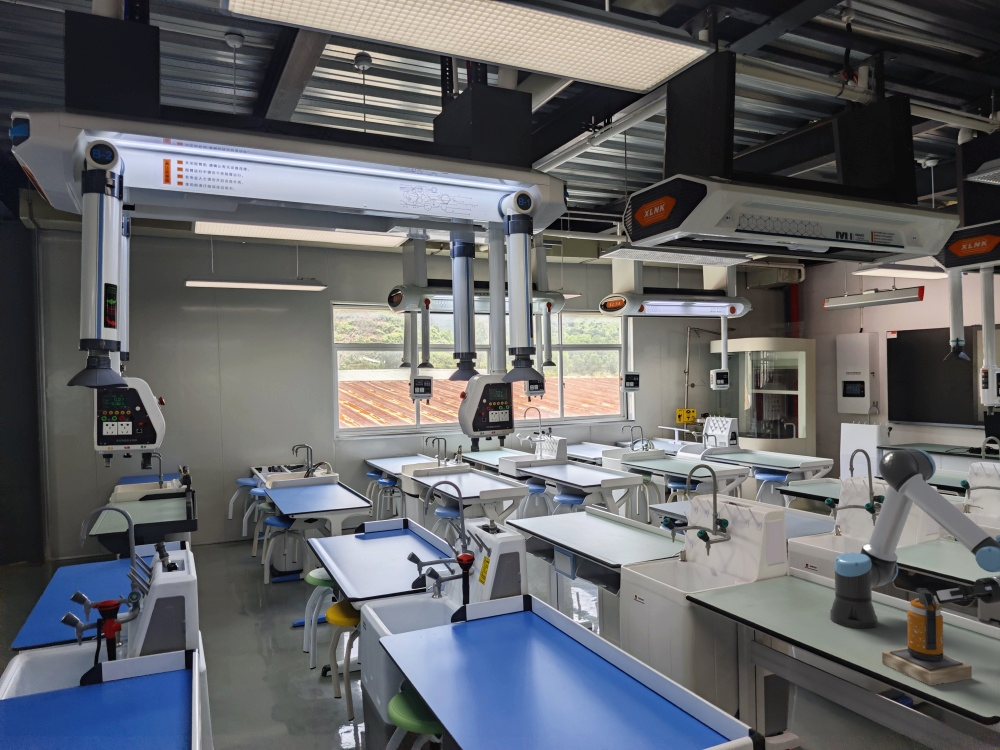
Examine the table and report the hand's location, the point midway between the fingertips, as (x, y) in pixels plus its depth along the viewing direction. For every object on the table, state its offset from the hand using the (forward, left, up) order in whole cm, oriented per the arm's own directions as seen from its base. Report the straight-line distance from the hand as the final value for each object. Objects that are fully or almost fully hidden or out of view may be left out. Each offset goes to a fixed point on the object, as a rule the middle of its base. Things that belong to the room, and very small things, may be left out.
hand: (927, 599), depth 207 cm
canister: (+6, -8, -15) cm, 18 cm away
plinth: (+6, -8, -18) cm, 21 cm away
